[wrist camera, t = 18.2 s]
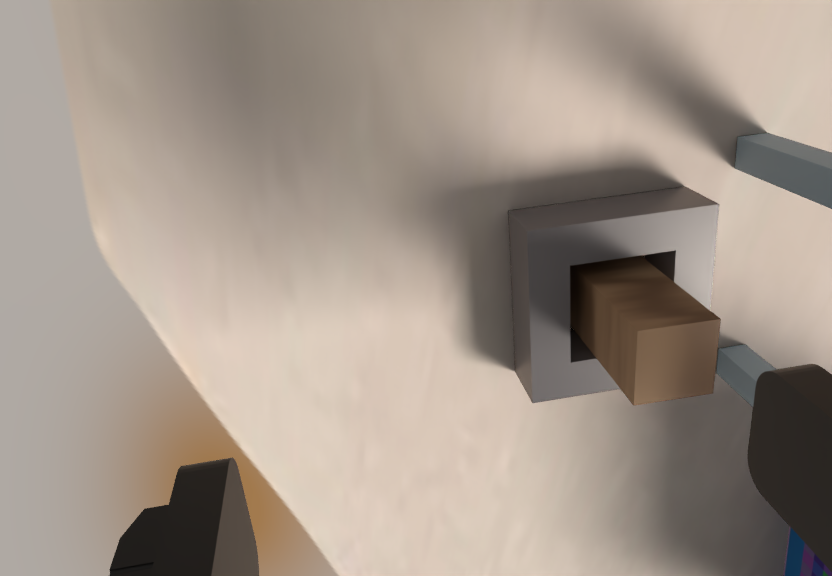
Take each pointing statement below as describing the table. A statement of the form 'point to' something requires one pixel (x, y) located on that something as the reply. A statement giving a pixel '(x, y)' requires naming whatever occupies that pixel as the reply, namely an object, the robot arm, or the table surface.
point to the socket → (592, 242)
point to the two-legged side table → (796, 172)
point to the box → (802, 559)
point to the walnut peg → (644, 329)
